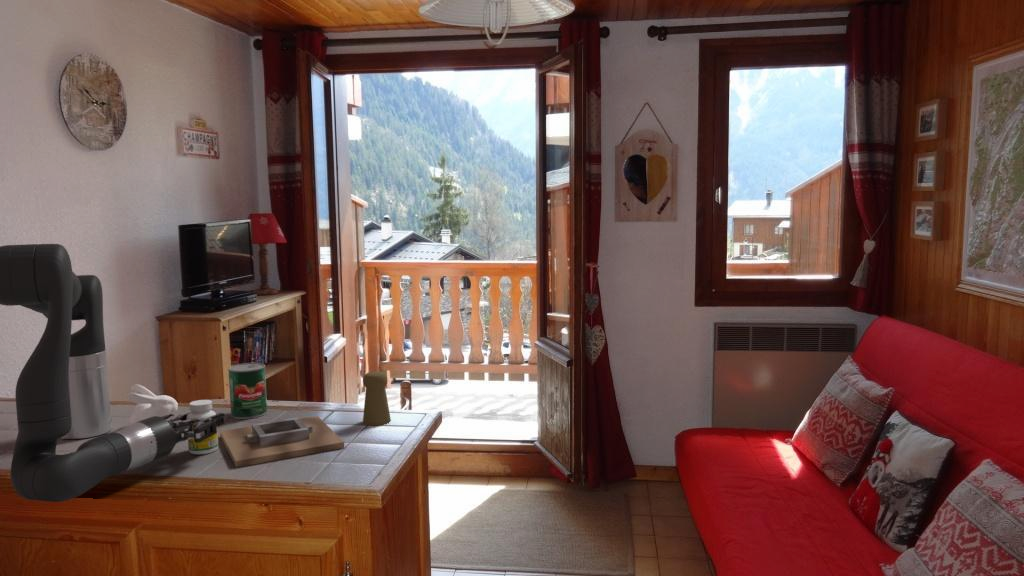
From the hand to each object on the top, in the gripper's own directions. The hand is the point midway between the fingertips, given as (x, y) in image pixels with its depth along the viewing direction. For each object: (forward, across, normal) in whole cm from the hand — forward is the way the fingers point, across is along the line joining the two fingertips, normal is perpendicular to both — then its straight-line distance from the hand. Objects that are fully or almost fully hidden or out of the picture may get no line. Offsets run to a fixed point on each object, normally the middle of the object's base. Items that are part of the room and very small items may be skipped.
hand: (211, 416), depth 143 cm
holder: (+6, -11, +6) cm, 14 cm away
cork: (+25, -22, +6) cm, 34 cm away
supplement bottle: (-3, 0, +6) cm, 7 cm away
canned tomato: (+20, +9, +6) cm, 23 cm away
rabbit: (-1, +14, +6) cm, 16 cm away
